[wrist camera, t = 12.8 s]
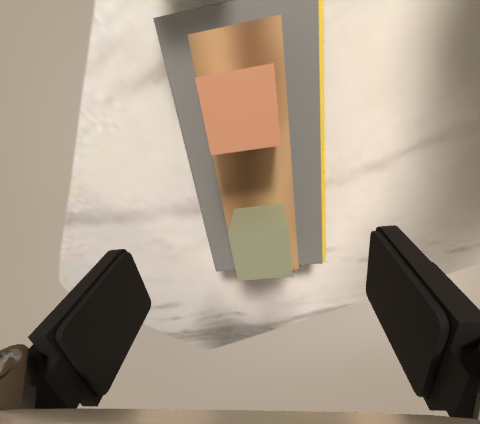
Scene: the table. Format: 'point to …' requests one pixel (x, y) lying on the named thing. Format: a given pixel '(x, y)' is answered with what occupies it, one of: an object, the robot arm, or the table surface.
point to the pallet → (279, 157)
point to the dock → (299, 113)
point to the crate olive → (260, 242)
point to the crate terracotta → (240, 109)
